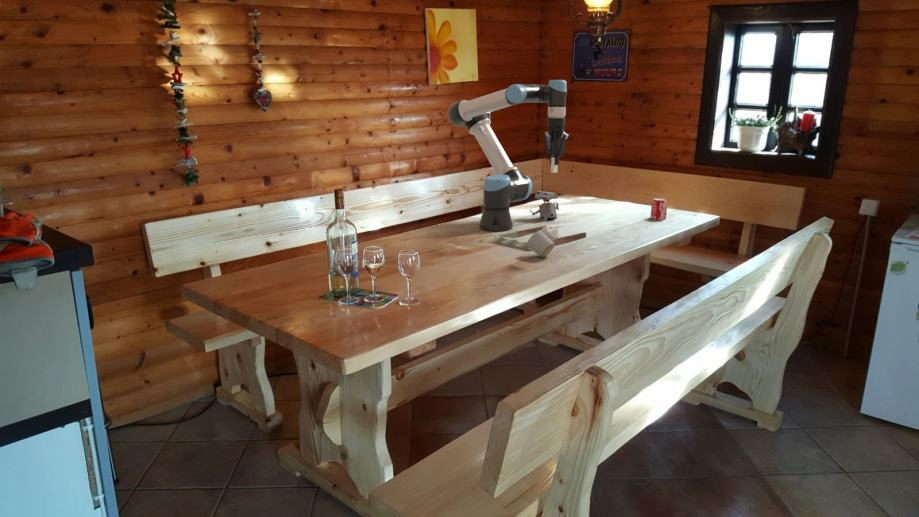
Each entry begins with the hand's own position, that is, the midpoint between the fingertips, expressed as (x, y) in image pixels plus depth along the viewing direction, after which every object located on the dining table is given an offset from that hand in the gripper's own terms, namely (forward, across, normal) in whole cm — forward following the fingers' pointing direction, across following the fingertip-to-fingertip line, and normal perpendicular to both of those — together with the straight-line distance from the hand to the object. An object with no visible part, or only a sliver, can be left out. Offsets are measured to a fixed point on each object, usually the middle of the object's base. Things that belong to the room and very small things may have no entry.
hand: (554, 172), depth 293 cm
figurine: (+27, -16, +14) cm, 34 cm away
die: (+27, +10, -15) cm, 32 cm away
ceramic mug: (+27, +27, -38) cm, 54 cm away
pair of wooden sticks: (+26, +8, -15) cm, 31 cm away
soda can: (+27, +22, +52) cm, 62 cm away
